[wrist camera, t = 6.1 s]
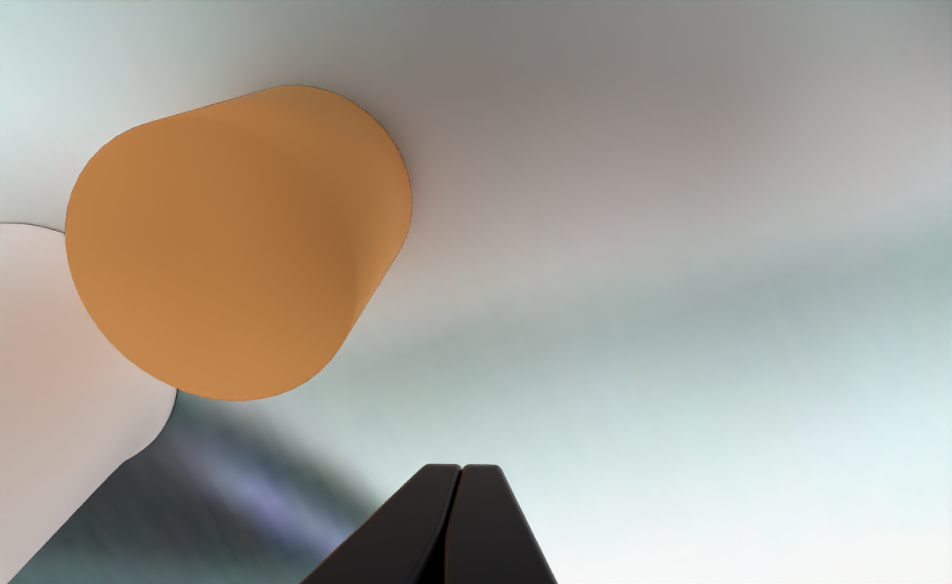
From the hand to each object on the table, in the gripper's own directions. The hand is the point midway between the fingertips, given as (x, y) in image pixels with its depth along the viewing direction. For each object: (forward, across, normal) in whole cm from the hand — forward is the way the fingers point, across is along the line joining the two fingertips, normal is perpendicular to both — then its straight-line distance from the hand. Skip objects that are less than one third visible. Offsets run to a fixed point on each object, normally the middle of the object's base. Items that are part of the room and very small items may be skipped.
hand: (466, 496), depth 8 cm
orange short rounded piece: (+12, +6, -1) cm, 13 cm away
